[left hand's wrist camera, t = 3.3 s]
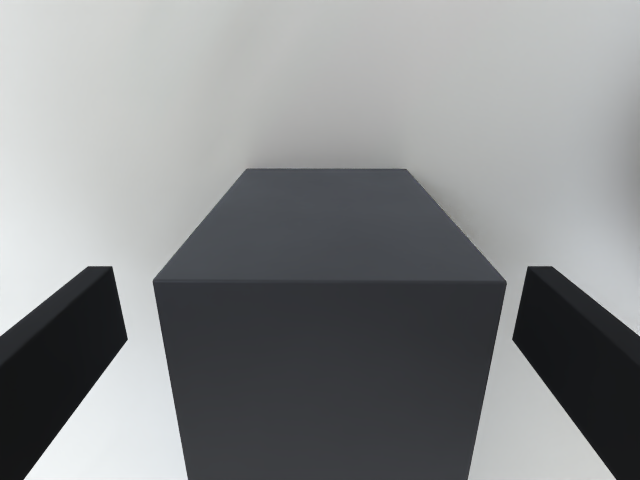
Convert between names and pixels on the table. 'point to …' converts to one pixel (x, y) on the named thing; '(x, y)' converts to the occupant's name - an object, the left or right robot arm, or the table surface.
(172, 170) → the table surface
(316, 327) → the box
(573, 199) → the table surface
